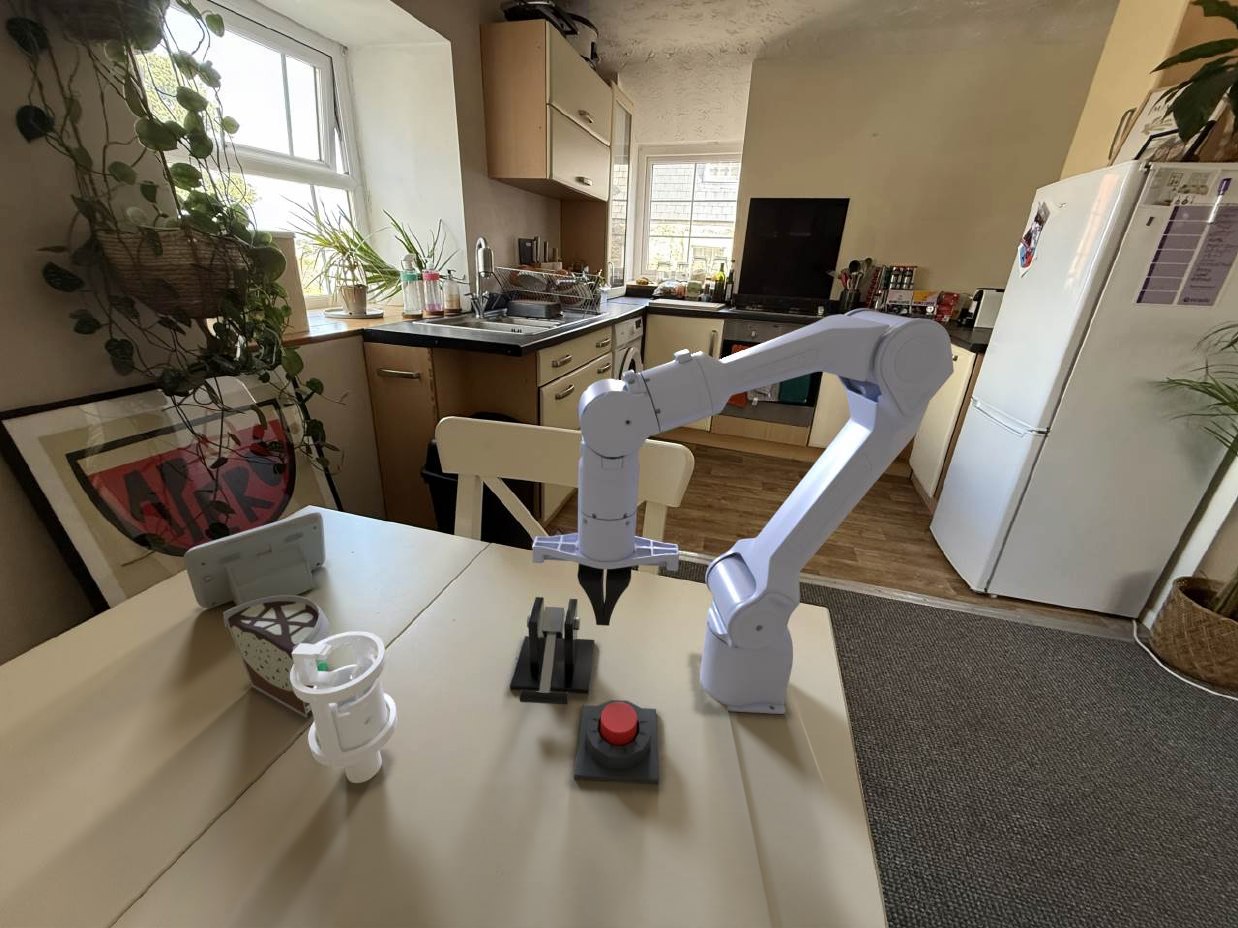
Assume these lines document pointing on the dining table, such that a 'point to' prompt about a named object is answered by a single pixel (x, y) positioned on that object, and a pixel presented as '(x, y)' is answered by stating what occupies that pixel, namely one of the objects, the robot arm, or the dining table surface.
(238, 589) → the digital clock
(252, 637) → the chocolate cake slice
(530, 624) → the switch bracket
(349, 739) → the white plastic cylinder
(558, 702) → the switch
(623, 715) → the button
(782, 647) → the robot arm
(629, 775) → the control block
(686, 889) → the dining table surface
